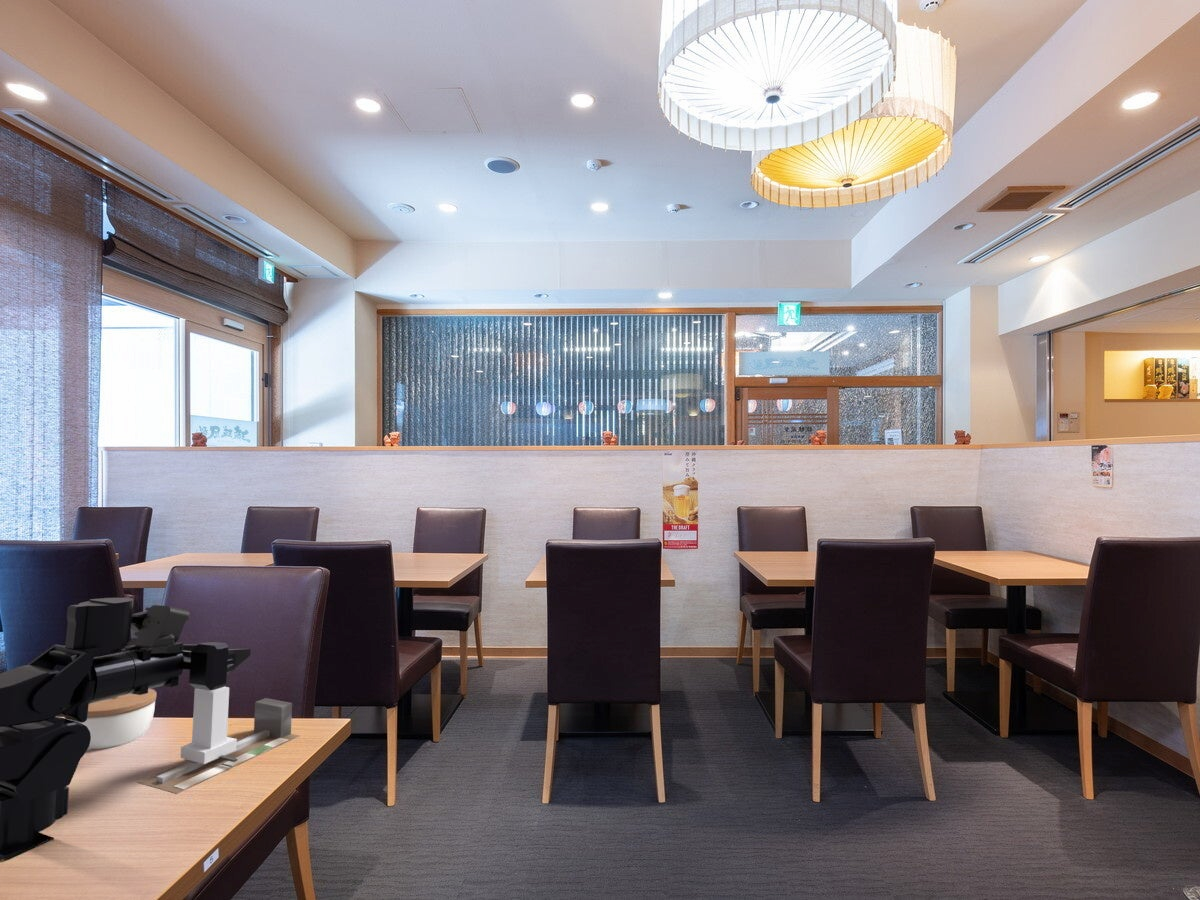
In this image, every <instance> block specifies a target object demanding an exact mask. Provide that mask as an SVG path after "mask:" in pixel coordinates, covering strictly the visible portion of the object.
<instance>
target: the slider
mask: <svg viewBox="0 0 1200 900" xmlns="http://www.w3.org/2000/svg"><path fill="white" fill-rule="evenodd" d="M193 693H194V696H193V698H194V699H193V712H192V713H193V718H192V733H191V734H192V736H191V738H192V739H191V742H190V743H187V744H185V745H182V746H180V759H183V760H186V761H189V760H190V761H194V762H198V763H202V764H206V763H208V762H210V761H212V760H215V759H217V758H219V759H223V760H227V761H231V762H236V761H237V758H233V757H228V756H224V755H226V754H228V753H230V752H233V751H235V750H236V746H237V740H238V739H237V738H233V737H230V736H228V725H229V724H228V722H229V705H230V704H229V703H230V701H229V700H230V687H228V686H224V687H222V688H219V689H215V690H211V691H210V690H203V689H196V688H194V692H193Z"/></svg>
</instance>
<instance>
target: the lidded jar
mask: <svg viewBox="0 0 1200 900" xmlns="http://www.w3.org/2000/svg"><path fill="white" fill-rule="evenodd" d="M156 700H157V691H156V690H155V689H154V688H151V689H148V693H146V694H142V695H137V694H127V695H122V696H118V697H114V698H110V699H106V700H102V701H98V702H94V703H90V704H89V707H88V715H87V720H86V721H85V722H83V723H82V724H83V725H85V726H87V728H88V729H89V731H90V735H91V740H90V744H89V747H88V749H87V751H90V750H101V749H109V748H114V747H118V746H122V745H126V744H128V743H131V742H132V743H133V742H134V741H136V740H138V739H140V738H142V737H143V736H144V735H145V734H146V733H147V732H148V730H149V728H150V726H151V724H152V722H153V718H154V714H155V707H156ZM72 721H73V720H72ZM75 722H77V721H75ZM79 723H81V722H79ZM87 751H86V752H87Z"/></svg>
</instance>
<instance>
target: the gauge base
mask: <svg viewBox="0 0 1200 900" xmlns="http://www.w3.org/2000/svg"><path fill="white" fill-rule="evenodd" d="M292 714H293V702H289V701H285V700H283V701H282V700H278V699H273V698H269V697H264V698H262V699H260V700H257V701H254V719H253V720H254V722H253V732H252V733H250V734H247V735H245V736H243V737H240V738H238V739H237V746H236V750H235V751H233V752H230V753H228V754H226V755H224V756H228V757H233V758H237V761H236V762H231V761H227V760H223V759H219V758H217V759H215V760H212V761H210V762H208V763H206V764H202V763H198V762H194V761H190V760H186V761H183V762H182V763H180V764H177V765H175V766H173V767H170V768H168V769H166V770H163V771H160V772H157V773H156V774H154V775H151V776H149V777H147V778H144V779H142V780H140V781H137V783H138V784H141V785H144V786H147V787H151V788H154V789H158V790H162V791H164V792H169V793H172V794H175V795H177V794H180V793H182V792H184V791H186V790H188V789H190V788H192V787H195V786H197V785H199V784H201V783H204V782H206V781H208V780H209V779H211V778H213V777H216V776H218V775H219V774H222V773H225V772H226V771H229V770H231V769H233V768H235V767H238V766H239V765H241V764H243V763H246V762H248V761H249V760H252V759H254V758H257V757H258V756H261V755H263V754H265V753H267V752H269V751H271V750H273V749H276V748H278V747H279V746H282V745H285V744H286V743H288V742H290V741H292V740H295V739H297V738H299V737H300V735H298V734H294V733H292V718H293V717H292V716H293V715H292Z"/></svg>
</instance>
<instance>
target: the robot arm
mask: <svg viewBox="0 0 1200 900" xmlns="http://www.w3.org/2000/svg"><path fill="white" fill-rule="evenodd" d="M134 600H135V599H134V598H131V597H104V598H102V597H101V598H92V599H91V598H90V599H89V600H88V601H84V602H83V601H82V602H80V603H78V604H71V605H69V606H67V611H66V612H67V613H66V619H67V626H66V636H65V645H60V644H53V645H52V646H50V647H49V648H47V649H46V650H45V651H44V652H42V653H41V654H39V655H37V657H36V658H34V659H32V660H31V661H30V662H28V663H27V664H26V665H21V666H18V667H15V668H12V669H10V670H6V671H3V672H1V673H0V859H1V860H6V859H9V858H12V857H14V856H16V855H19V854H22V853H23V852H25V851H28V850H29V849H32V848H35V847H36V846H38V845H41V844H43V843H45V842H48V841H50V840H51V839H52V840H53V839H54V837H53V836H50V835H47V834H44V833H42V831H44V830H46V829H48V828H49V827H51V826H53V824H55V822H56V821H58V820H60V819H62V818H63V817H64V816H66V815H68V812H69V811H68V809H69V808H68V807H69V796H70V793H69V792H70V787H69V786H70V784H71V782H72V779H73V778H74V775H75V773H76V770H77V768H78V765H79V764H80V761H81V759H82V758H83V757H84V756H85V754H86V753H87V749H88V747H89V744H90V740H91V735H90V731H89V729H88V728H87V726H85V725H83V724H82V723H83V722H85V721H86V720H87V715H88V707H89V704H90V703H94V702H98V701H102V700H106V699H110V698H114V697H118V696H122V695H127V694H137V695H142V694H146V693H148V689H154V688H159V687H161V686H162V687H163V686H164V687H168V688H173V687H176V686H179V678H180V676H182V674H183V672H184V671H183V670H189V678H188V685H190V686H191V687H193V688H194V689H203V690H210V691H211V690H215V689H219V688H222V687H226V685H227V679H228V678H227V677H229V675H230V674H231V673H232V672H233V671H235V670H236V669H237V668H238V667H239V666H240V665H242V663H244V662H245V661H246V660H248V659H249V657H251V654H252V653H251V652H252V650H251V648H229V646H228V645H227V643H226V642H220V641H207V642H201V643H197V644H189V643H188V644H185V643H184V642H182V641H181V642H178V640H179V639H180V637H181V635H182V632H183V630H184V628H185V625H186V622H188V621H189V618H190V611H189V610H186V609H183V608H178V607H173V606H170V605H158V604H153V605H151V606H150V607H149V606H148V607H145V611H139V612H135V613H134V612H133V611H134ZM131 630H132V631H133V632H134V634H133V636H135V637H132V639H131V640H130V638H131ZM120 649H121V650H120ZM119 650H120V652H118V651H119ZM105 654H106V655H105ZM98 655H100V656H98ZM101 655H102V656H101ZM56 666H61V667H63V668H61V670H56V669H54V668H55V667H56ZM58 715H62V716H63V717H61V716H58ZM72 720H73V721H72ZM75 721H77V722H75ZM79 722H81V723H79Z"/></svg>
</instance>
